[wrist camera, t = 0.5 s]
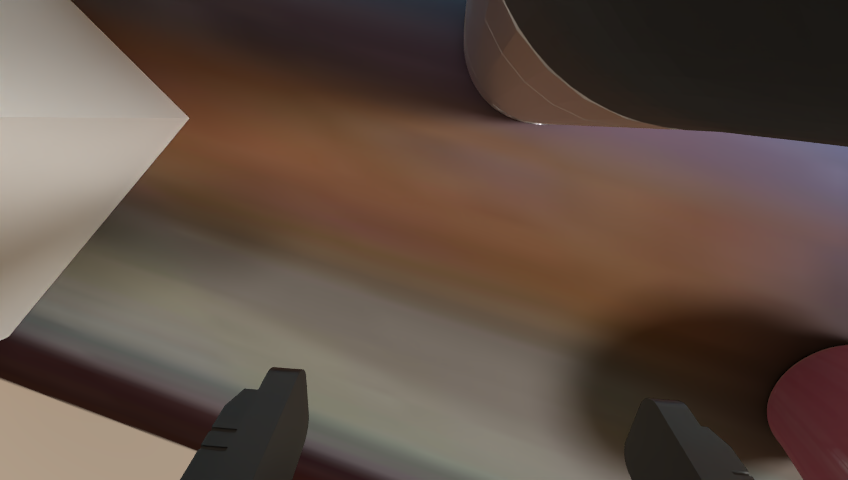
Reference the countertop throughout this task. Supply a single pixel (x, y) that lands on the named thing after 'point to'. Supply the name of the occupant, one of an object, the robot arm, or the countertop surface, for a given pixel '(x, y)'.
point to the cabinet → (65, 142)
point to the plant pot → (814, 414)
